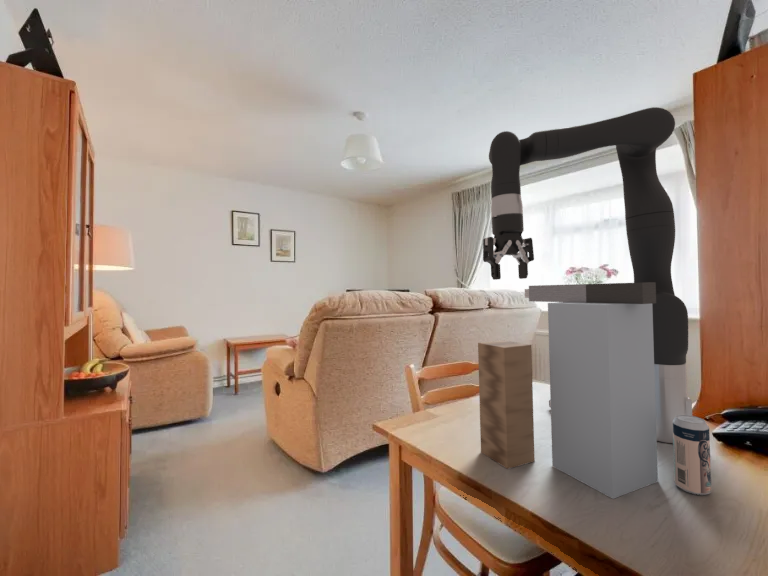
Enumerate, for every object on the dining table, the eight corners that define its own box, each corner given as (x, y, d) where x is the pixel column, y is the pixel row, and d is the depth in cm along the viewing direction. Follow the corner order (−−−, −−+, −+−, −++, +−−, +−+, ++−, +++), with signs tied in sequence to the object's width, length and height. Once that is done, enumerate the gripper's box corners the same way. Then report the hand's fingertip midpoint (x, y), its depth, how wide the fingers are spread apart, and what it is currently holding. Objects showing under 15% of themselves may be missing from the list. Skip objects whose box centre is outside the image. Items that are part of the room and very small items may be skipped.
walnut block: (480, 452, 76) (477, 342, 76) (506, 445, 79) (503, 340, 79) (507, 468, 69) (504, 347, 69) (534, 461, 72) (531, 344, 72)
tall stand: (594, 453, 74) (590, 300, 74) (657, 481, 63) (652, 301, 63) (552, 466, 69) (547, 302, 70) (612, 498, 58) (607, 304, 59)
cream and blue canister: (714, 500, 57) (712, 426, 57) (676, 492, 60) (674, 420, 60) (707, 486, 61) (705, 416, 61) (672, 479, 64) (670, 412, 64)
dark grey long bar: (522, 301, 81) (522, 285, 81) (533, 300, 83) (533, 285, 83) (642, 304, 58) (642, 282, 58) (656, 303, 59) (655, 282, 59)
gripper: (517, 219, 96) (520, 279, 96) (474, 217, 91) (477, 280, 90) (539, 213, 89) (542, 277, 89) (494, 210, 84) (497, 278, 83)
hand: (509, 279), depth 90 cm, fingers open, 8 cm apart
